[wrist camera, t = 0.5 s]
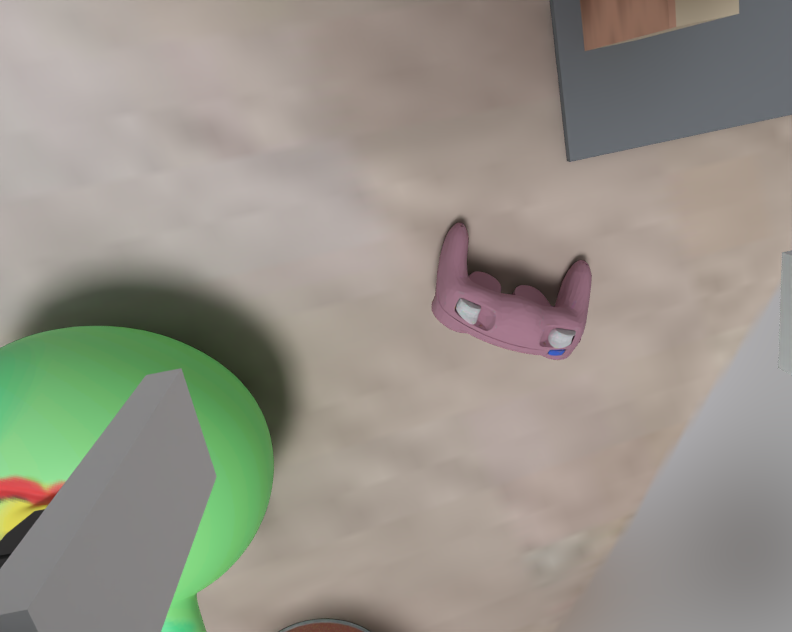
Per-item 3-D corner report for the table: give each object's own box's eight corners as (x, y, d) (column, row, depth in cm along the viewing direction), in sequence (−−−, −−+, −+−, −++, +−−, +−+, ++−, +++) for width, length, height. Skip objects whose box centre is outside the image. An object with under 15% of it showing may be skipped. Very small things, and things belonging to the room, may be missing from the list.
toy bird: (308, 334, 40) (284, 451, 26) (256, 544, 45) (213, 736, 31) (20, 267, 38) (-175, 357, 24) (-3, 497, 43) (-176, 684, 29)
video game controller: (426, 266, 41) (421, 341, 36) (450, 212, 38) (449, 286, 33) (561, 305, 43) (574, 383, 37) (595, 257, 39) (614, 334, 34)
